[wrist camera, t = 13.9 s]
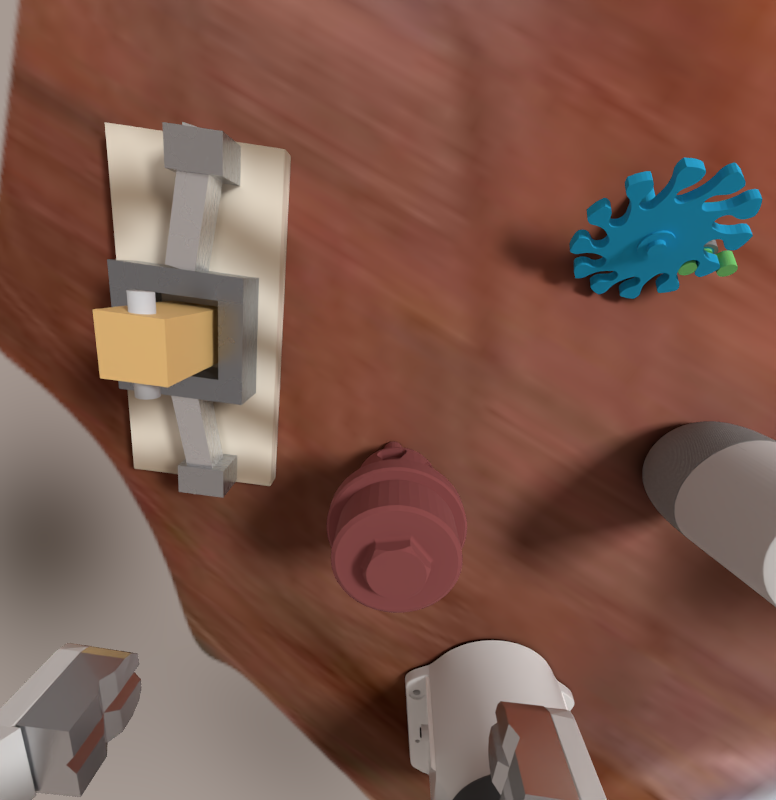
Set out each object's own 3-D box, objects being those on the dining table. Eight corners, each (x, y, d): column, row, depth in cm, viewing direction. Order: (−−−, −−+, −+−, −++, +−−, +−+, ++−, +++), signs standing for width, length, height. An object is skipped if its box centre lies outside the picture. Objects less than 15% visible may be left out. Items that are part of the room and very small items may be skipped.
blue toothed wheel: (538, 273, 27) (674, 139, 19) (538, 218, 30) (657, 79, 21) (656, 325, 30) (824, 228, 21) (646, 270, 33) (793, 164, 24)
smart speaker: (701, 389, 32) (922, 473, 18) (761, 458, 33) (1002, 579, 20) (607, 464, 34) (743, 586, 21) (668, 524, 36) (830, 672, 22)
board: (275, 477, 35) (270, 486, 34) (144, 460, 35) (134, 468, 33) (290, 155, 27) (284, 149, 25) (120, 130, 27) (104, 122, 25)
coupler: (225, 373, 30) (168, 406, 23) (175, 366, 30) (101, 397, 23) (225, 291, 28) (163, 297, 21) (172, 283, 28) (90, 287, 21)
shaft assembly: (253, 484, 34) (240, 503, 31) (151, 471, 33) (128, 489, 31) (262, 145, 25) (245, 128, 23) (127, 124, 25) (93, 105, 22)
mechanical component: (350, 525, 36) (333, 429, 33) (455, 515, 36) (447, 417, 33) (329, 643, 25) (299, 512, 22) (483, 632, 24) (475, 496, 21)
